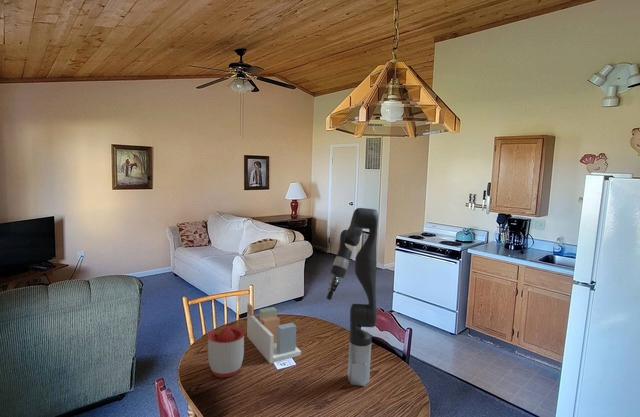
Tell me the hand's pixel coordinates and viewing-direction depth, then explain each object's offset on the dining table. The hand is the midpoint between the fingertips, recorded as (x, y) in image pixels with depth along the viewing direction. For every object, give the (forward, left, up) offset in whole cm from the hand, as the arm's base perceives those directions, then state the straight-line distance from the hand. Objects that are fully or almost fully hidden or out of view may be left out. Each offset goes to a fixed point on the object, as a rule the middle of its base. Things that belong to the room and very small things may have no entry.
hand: (328, 299), depth 187 cm
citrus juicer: (-33, +40, -24) cm, 57 cm away
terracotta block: (-8, +28, -22) cm, 36 cm away
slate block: (-14, +18, -22) cm, 31 cm away
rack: (-7, +26, -24) cm, 36 cm away
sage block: (+3, +32, -22) cm, 39 cm away
